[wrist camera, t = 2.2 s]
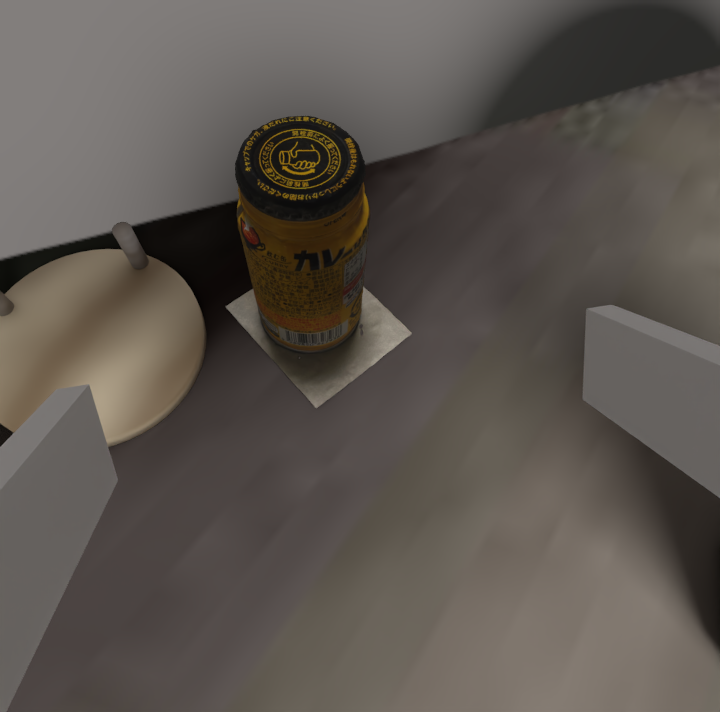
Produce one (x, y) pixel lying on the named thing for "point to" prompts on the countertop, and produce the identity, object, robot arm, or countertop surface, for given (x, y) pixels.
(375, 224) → the countertop surface
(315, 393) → the condiment
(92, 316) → the flange base
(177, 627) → the countertop surface
